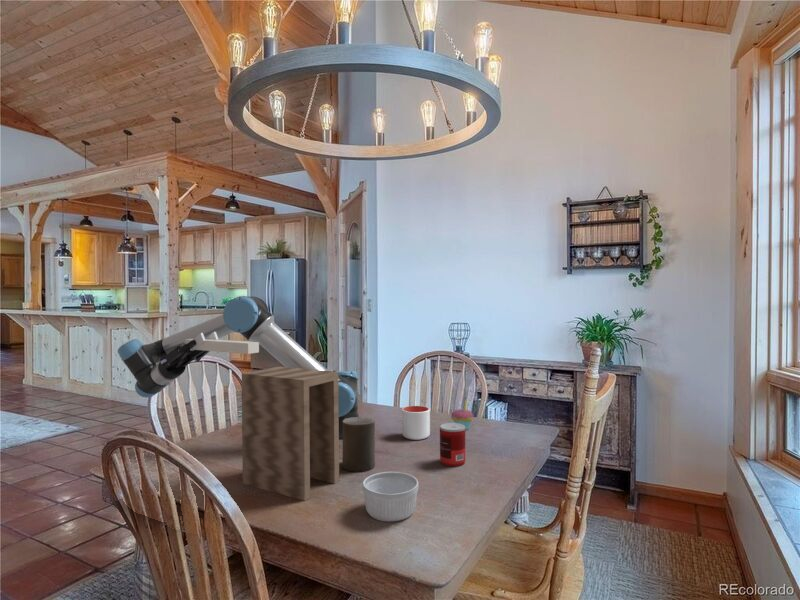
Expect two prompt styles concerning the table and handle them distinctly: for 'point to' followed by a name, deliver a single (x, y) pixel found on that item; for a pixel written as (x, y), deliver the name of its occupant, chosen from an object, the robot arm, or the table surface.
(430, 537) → the table surface
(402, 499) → the ramekin
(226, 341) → the bar
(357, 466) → the pillar candle
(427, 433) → the cup
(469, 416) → the cupcake
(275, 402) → the stand
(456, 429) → the canned food
